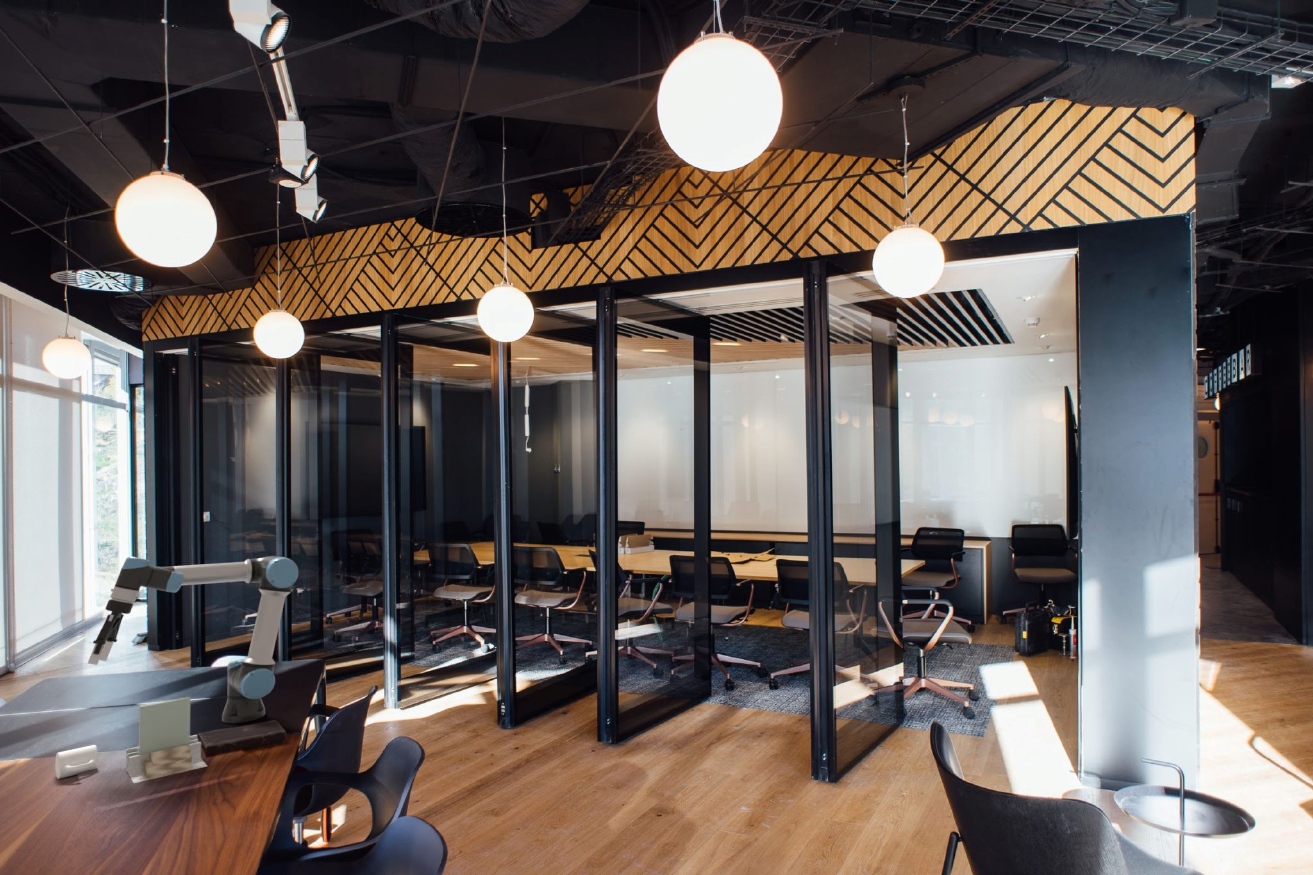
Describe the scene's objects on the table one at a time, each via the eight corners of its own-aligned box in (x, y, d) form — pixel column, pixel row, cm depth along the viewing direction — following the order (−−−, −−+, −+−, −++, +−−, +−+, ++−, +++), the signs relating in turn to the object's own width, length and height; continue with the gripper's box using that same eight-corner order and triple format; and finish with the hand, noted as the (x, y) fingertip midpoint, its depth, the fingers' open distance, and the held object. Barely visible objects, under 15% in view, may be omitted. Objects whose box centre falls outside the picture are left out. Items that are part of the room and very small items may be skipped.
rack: (196, 755, 259) (196, 734, 260) (207, 769, 246) (207, 747, 246) (125, 770, 246) (126, 748, 247) (133, 786, 233) (133, 763, 233)
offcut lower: (188, 762, 249) (188, 753, 250) (191, 766, 246) (191, 757, 246) (145, 772, 241) (145, 763, 242) (147, 776, 238) (147, 767, 238)
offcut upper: (187, 754, 249) (187, 744, 249) (190, 758, 245) (190, 748, 245) (151, 762, 242) (151, 752, 243) (153, 766, 239) (153, 756, 239)
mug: (54, 775, 244) (55, 750, 245) (92, 766, 251) (93, 742, 252) (61, 784, 236) (62, 758, 236) (100, 775, 243) (101, 750, 243)
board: (188, 757, 255) (189, 696, 256) (189, 758, 253) (190, 698, 254) (138, 767, 246) (139, 705, 247) (139, 769, 244) (140, 706, 245)
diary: (286, 744, 270) (286, 730, 271) (205, 761, 255) (205, 746, 255) (274, 731, 285) (274, 717, 285) (197, 746, 270) (198, 732, 270)
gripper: (116, 597, 276) (93, 656, 270) (101, 599, 254) (75, 663, 248) (140, 602, 279) (116, 660, 273) (126, 603, 257) (101, 667, 251)
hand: (97, 662), depth 260 cm, fingers open, 13 cm apart
